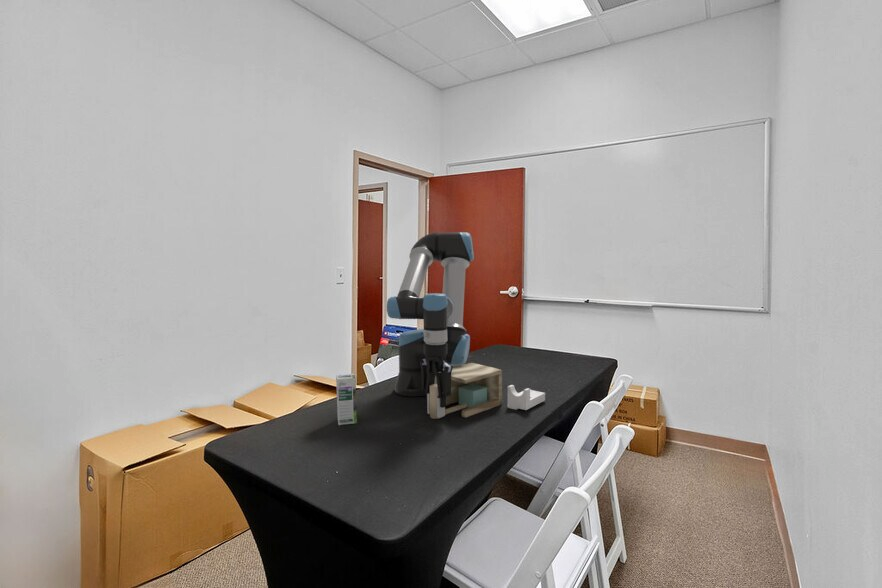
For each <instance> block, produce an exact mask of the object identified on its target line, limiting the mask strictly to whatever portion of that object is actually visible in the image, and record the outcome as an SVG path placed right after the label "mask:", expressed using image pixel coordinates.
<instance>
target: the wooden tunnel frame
mask: <svg viewBox="0 0 882 588" xmlns="http://www.w3.org/2000/svg"><path fill="white" fill-rule="evenodd" d="M438 373H440V372H438ZM471 383H474V384H477V385H481V386H484V387H487V402H484V403H481V404H479V405H476V406H473V407H470V408H469V407H466V408H463V409H461V417H462V418H469V417H471V416H474V415H476V414H479V413H482V412H484V411H489V410H491V409H493V408H495V407H499V406H501V405H503V402H502V401H503V369H499V368H497V367H492V366H489V365H488V366H487V365H483V364H479V363H475V362H469V363H465V364H463V365H455V366H453V369H452V372H451V395H450V396H447V397H446V406H448V405H452V404H455V403H459V387H461V386H464V385H468V384H471ZM434 384H437V380H436V376H435V381H434Z"/></svg>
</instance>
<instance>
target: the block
mask: <svg viewBox="0 0 882 588" xmlns="http://www.w3.org/2000/svg"><path fill="white" fill-rule="evenodd" d="M437 396H439V394H438V387H437V384H435V383H434V384H432V385H430V414H429V418H431V419H434V420H438V419H441V418H443V417H440V418H437ZM484 402H487V387H484V386H481V385H477V384H474V383H471V384H468V385H464V386H461V387H459V401H458V404H457V405H453V406H452V407H449V408H445V415H448V414H451V413H454V412H456V411H460V410H464V409H467V408H470V407H473V406H476V405H479V404H481V403H484Z"/></svg>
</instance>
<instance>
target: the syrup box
mask: <svg viewBox="0 0 882 588" xmlns="http://www.w3.org/2000/svg"><path fill="white" fill-rule="evenodd" d="M335 379H336V383H335V384H336V410H337V425H338V426H344V425H351V424H358V416H357V415H358V413H357V412H358V409H357V405H358V404H357V380H356V379H357V378H356V375H355V373H349V374H348V373H347V374H346V373H345V374H336V375H335Z"/></svg>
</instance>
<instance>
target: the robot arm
mask: <svg viewBox="0 0 882 588" xmlns="http://www.w3.org/2000/svg"><path fill="white" fill-rule="evenodd" d="M474 260H475V255H474V248H473V239H472V236H471V233H469V232H463V231H462V232H461V231H457V232H455V231H454V232H452V231H451V232H449V231H448V232H430V233H428V234H425V235H424V236H422V237H421V238H420V239H418V241H416V242H415V244H414V245H412V247H411V249H410V253H409V262H408V265H407V267H406V270H405V273H404V277H403V280H402V283H401V284H400V288H399V290H398V294H397V296H390V297H388V300H387V302H386V313H387V317H389V318H390V319H395V320H397V319H398V320H423V328H419V329H412V330H407V331H404V332H401V334H399V337H398V371H399V372H398V374H397V378H396V381H395V384H394V392H395V393H396V394H398V396H399V395H400V396H403V397H423V396H426V397H425V398H426V403H427V406H426V408H427V411H426V413H427V414H428V415H430V385H432V384H435V376H436V380H437V387H438V394H439V396H437V418H439V419H441V418H440V417H442V418H443V417H445V416H446V414H445V409H446V407H447V405H446V397H447V396H450V395H451V372H452V369H453V367H455V366H460V365H464V364H466V362H467V360H468V356H469V352H470V346H471V345H470V344H471V336H470V334H468V333H467V329H466V328H465V327H464V310H465V309H464V308H465V307H464V306H465V304H464V303H465V287H466V286H465V285H466V269H468V268H469V267H470V264H471V262H473V261H474ZM433 262H440V265H441V266H442V267H443V279H442V280H443V281H442V284H443V285H442V293H437V292H436V293H435V292H434V293H433V292H432V293H425V294H424V295H423V296H421V292H422V289H423V285H424V282H425V279H426V276H427V272H428V269H429V266H431V265H432V263H433ZM420 296H421V297H420ZM438 372H440V373H438Z"/></svg>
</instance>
